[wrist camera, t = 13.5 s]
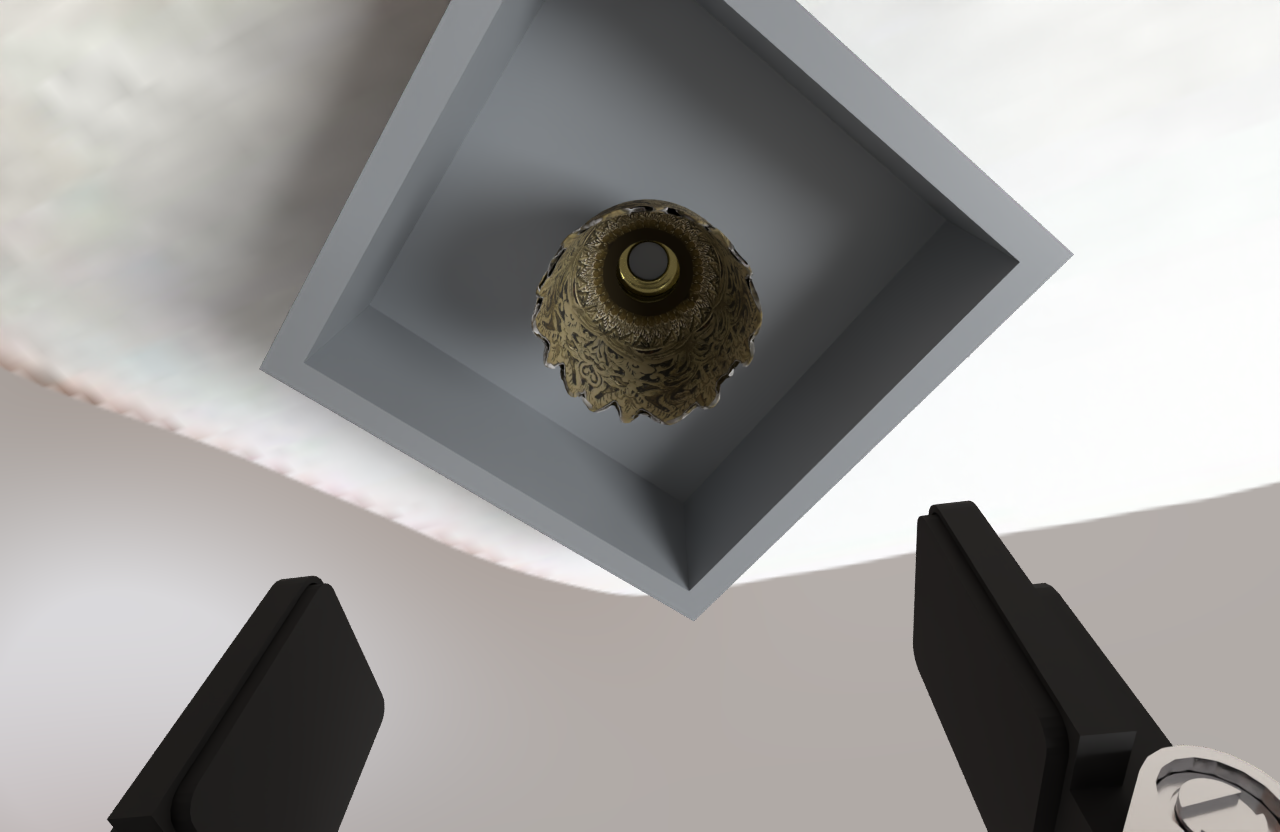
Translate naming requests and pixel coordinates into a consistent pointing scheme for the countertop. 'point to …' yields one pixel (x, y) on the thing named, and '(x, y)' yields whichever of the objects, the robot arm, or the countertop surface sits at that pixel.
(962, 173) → the crate
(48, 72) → the countertop surface
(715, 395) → the brown patterned lamp shade
